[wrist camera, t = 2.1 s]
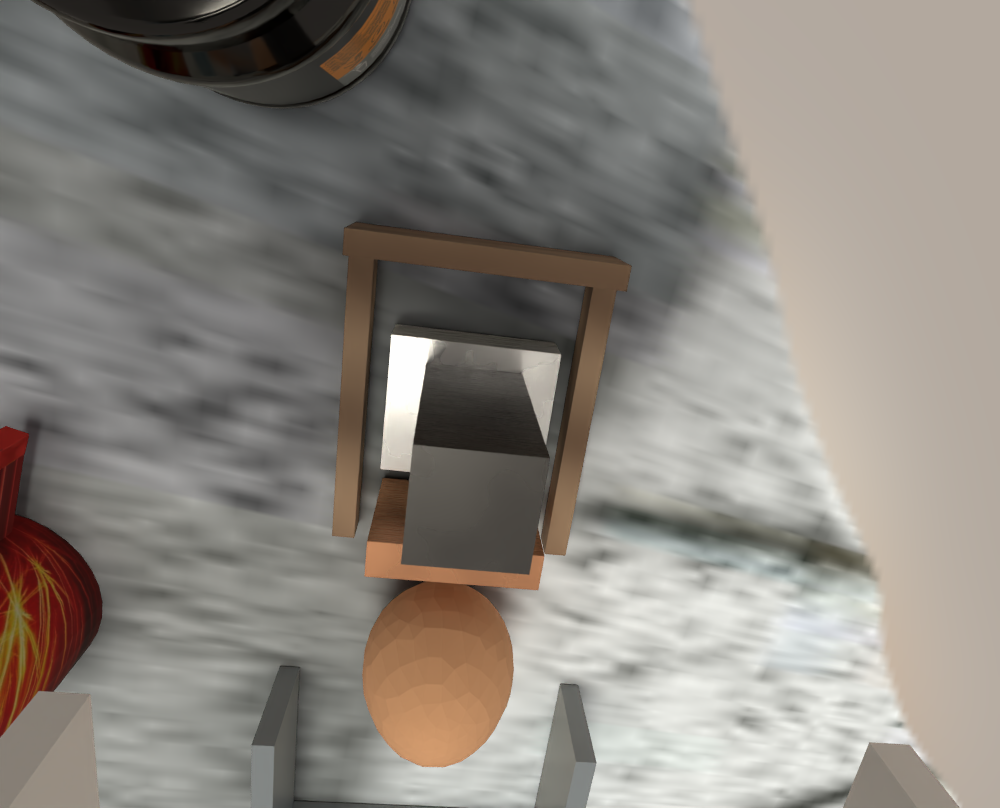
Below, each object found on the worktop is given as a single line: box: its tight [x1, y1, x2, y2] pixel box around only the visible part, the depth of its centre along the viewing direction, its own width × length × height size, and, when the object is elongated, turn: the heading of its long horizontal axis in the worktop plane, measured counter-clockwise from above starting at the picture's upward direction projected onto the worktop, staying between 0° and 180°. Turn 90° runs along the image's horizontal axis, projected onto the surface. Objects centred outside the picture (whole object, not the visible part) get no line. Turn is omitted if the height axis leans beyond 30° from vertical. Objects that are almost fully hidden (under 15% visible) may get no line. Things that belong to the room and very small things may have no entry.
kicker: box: [365, 324, 561, 590], centre depth 25 cm, size 9×7×11 cm
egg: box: [362, 581, 514, 767], centre depth 29 cm, size 7×7×9 cm
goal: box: [251, 666, 596, 808], centre depth 34 cm, size 10×16×5 cm, turn 82°
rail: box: [332, 222, 632, 555], centre depth 28 cm, size 14×11×3 cm
